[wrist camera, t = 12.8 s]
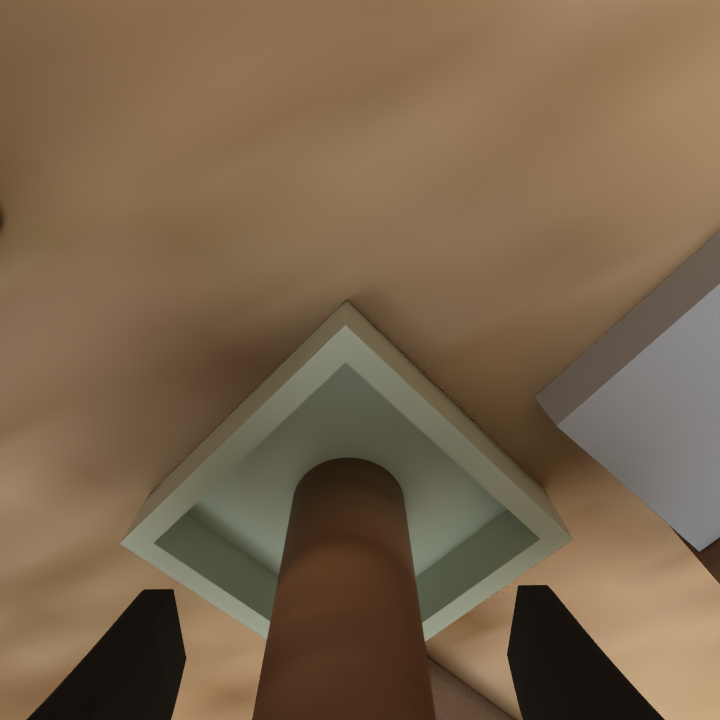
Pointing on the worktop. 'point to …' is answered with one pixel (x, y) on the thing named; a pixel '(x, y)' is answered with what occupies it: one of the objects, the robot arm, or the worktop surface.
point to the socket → (459, 698)
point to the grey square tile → (656, 399)
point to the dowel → (346, 605)
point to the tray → (341, 440)
